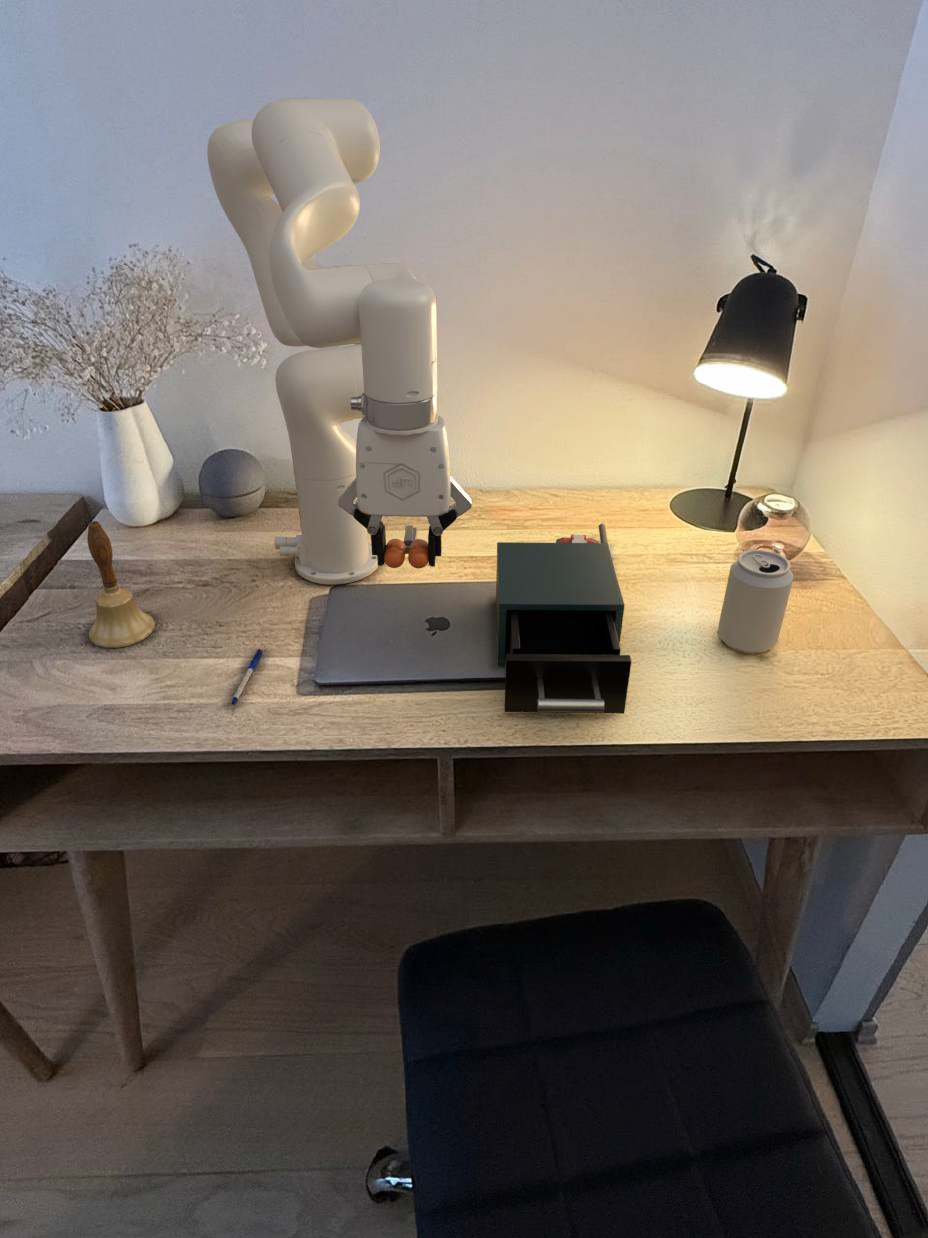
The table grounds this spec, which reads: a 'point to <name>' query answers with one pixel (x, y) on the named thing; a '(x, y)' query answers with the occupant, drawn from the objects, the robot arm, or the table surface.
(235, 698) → the ballpoint pen
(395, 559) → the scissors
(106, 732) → the table surface
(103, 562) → the hand bell
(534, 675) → the open black drawer
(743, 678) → the table surface
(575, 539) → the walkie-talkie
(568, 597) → the drawer cabinet
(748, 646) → the can
